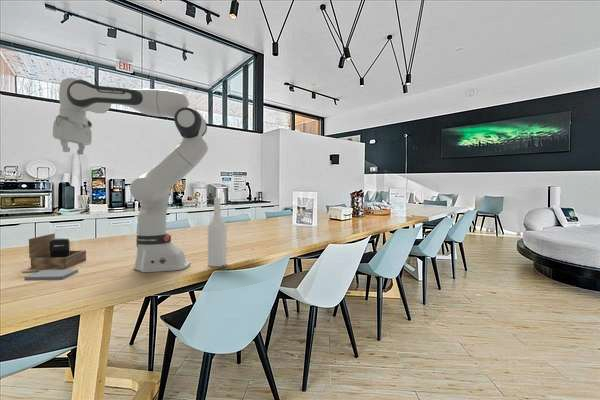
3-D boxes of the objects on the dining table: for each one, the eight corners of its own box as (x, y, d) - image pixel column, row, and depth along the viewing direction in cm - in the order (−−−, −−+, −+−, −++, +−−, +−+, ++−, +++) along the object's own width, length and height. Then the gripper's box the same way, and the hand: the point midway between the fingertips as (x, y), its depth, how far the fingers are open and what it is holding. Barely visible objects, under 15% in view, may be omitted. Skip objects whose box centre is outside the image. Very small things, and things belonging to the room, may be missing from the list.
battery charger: (49, 266, 133) (48, 239, 133) (51, 264, 137) (50, 238, 136) (69, 264, 137) (68, 238, 136) (70, 262, 140) (70, 237, 140)
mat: (78, 271, 125) (77, 269, 125) (62, 278, 116) (62, 276, 116) (42, 272, 124) (42, 270, 124) (24, 279, 114) (24, 277, 114)
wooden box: (86, 259, 145) (85, 233, 144) (57, 271, 125) (57, 240, 124) (54, 260, 143) (53, 233, 143) (20, 272, 123) (19, 241, 123)
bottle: (212, 267, 134) (212, 198, 133) (204, 264, 140) (204, 197, 139) (229, 264, 139) (229, 197, 138) (221, 261, 145) (221, 197, 144)
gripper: (65, 114, 118) (65, 150, 119) (94, 124, 139) (94, 155, 139) (47, 113, 118) (48, 150, 118) (79, 124, 138) (79, 155, 139)
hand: (73, 153), depth 129 cm, fingers open, 8 cm apart
